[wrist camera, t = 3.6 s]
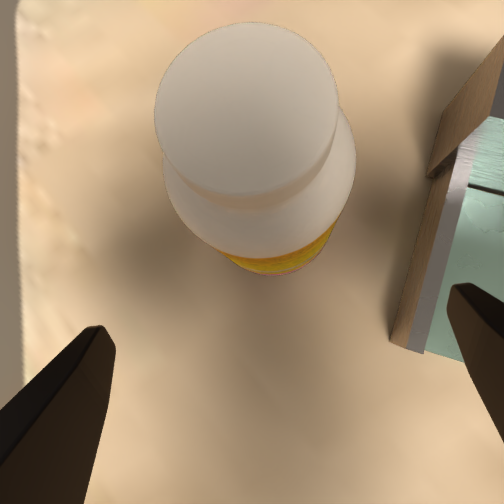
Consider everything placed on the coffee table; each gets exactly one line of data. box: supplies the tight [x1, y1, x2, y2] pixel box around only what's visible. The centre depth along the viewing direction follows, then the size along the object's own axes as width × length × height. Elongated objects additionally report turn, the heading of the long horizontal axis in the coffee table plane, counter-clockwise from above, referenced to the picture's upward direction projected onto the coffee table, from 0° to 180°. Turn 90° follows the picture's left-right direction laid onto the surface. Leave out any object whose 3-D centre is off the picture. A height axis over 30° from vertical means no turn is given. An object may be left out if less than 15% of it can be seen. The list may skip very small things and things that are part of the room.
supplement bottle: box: [154, 22, 356, 276], centre depth 16 cm, size 7×7×13 cm
